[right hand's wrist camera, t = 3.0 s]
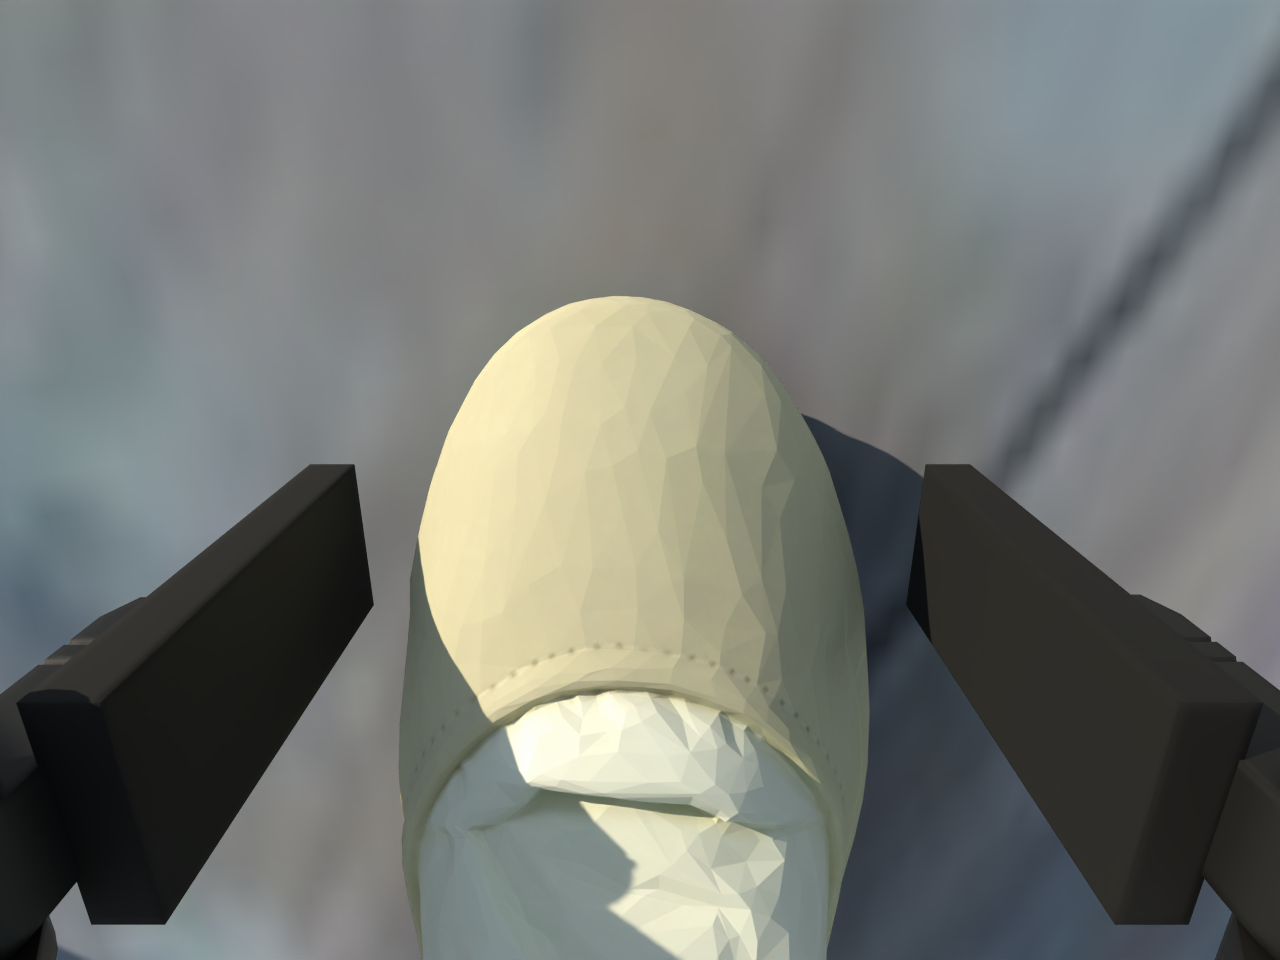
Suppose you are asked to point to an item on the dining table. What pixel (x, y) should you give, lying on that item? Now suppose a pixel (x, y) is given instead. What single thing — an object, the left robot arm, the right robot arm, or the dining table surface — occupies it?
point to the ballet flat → (631, 656)
